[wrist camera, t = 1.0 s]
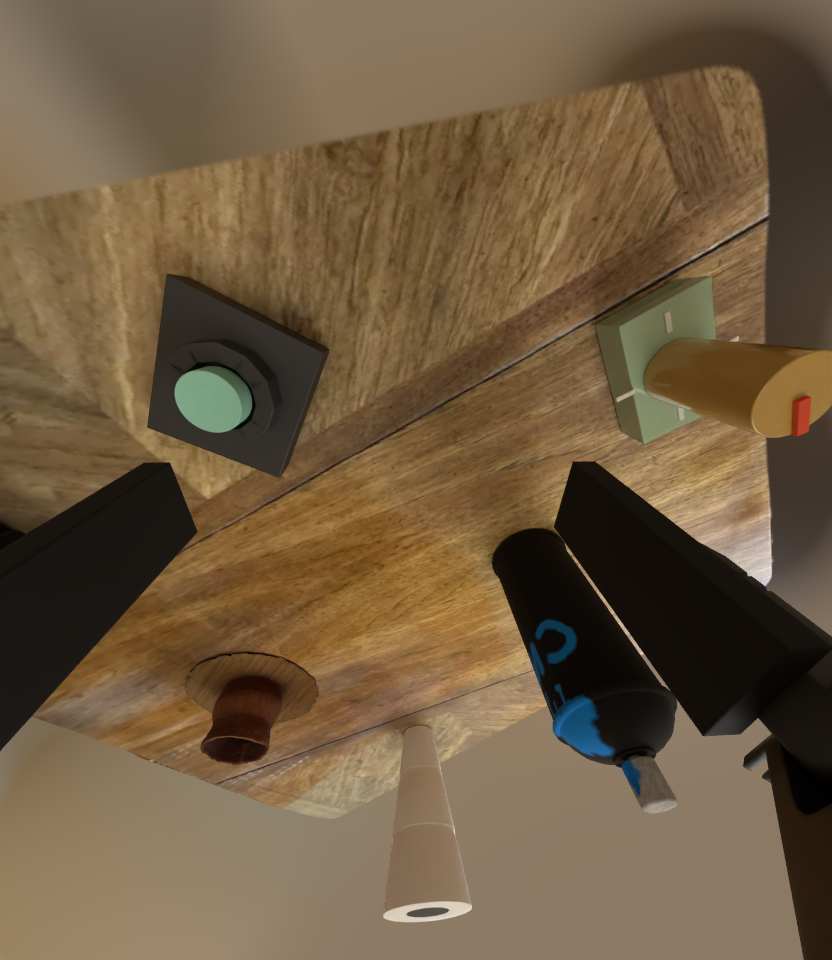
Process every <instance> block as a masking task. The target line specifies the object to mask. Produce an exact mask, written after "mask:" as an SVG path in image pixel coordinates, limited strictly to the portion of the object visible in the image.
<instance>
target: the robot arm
mask: <svg viewBox="0 0 832 960" xmlns="http://www.w3.org/2000/svg"><path fill="white" fill-rule="evenodd" d="M554 528H555V529H556V531H557V532H558V533H559V535H560V536H561V538H562V539H563V540H564V542H565V543H566V545H567V546H568V547H569V549H570V550H571V552H572V553H573V554H574V556H575V557H576V559H577V560H578V561H579V563H580V564H581V566H582V567H583V569H584V570H585V571H586V573H587V574H588V576H589V577H590V578H591V580H592V581H593V583H594V584H595V585H596V587H597V588H598V590H599V591H600V592H601V594H602V595H603V597H604V598H605V599H606V601H607V602H608V604H609V605H610V606H611V608H612V609H613V611H614V612H615V613H616V615H617V616H618V618H619V619H620V620H621V622H622V623H623V625H624V626H625V627H626V629H627V630H628V632H629V633H630V634H631V636H632V637H633V639H634V640H635V641H636V643H637V644H638V646H639V647H640V648H641V650H642V651H643V653H644V654H645V655H646V657H647V658H648V660H649V661H650V662H651V664H652V665H653V667H654V668H655V670H656V671H657V672H658V674H659V675H660V676H661V678H662V679H663V681H664V682H665V684H666V685H667V686H668V688H669V689H670V691H671V692H672V693H673V695H674V696H675V698H676V699H677V700H678V702H679V703H680V705H681V706H682V707H683V709H684V710H685V712H686V713H687V714H688V716H689V717H690V719H691V720H692V721H693V723H694V724H695V726H696V727H697V728H698V730H699V731H700V733H701V734H702V735H703V736H716V735H735V734H741V733H742V732H743V731H744V730H745V729H746V728H747V727H749V726H750V725H751V724H752V723H753V722H754V721H755V720H756V719H757V718H759V719H760V720H761V721H762V723H763V724H764V725H765V726H766V727H767V728H768V729H769V730H770V732H771V733H772V734H771V735H770V736H769V737H767V738H766V739H765V740H764V741H763V742H762V743H760V744H759V745H758V746H757V747H755V748H754V749H753V750H752V751H751V752H750V753H748V754H747V755H746V756H745V758H744V764H743V767H745V768H746V769H748V770H750V771H751V770H753V769H754V768H755V767H757V766H758V765H759V764H760V763H762V762H763V761H764V760H767V763H768V768H769V770H767V771H766V772H765V773H764V774H763V776H762V778H763V779H765V780H767V781H769V782H770V783H771V784H772V790H773V795H774V801H775V806H776V812H777V817H778V822H779V828H780V833H781V839H782V844H783V850H784V855H785V860H786V866H787V871H788V877H789V882H790V887H791V892H792V898H793V904H794V909H795V914H796V920H797V925H798V931H799V936H800V941H801V946H802V952H803V958H804V960H832V637H831V636H830V635H829V634H827V633H826V632H825V631H823V630H822V629H821V628H819V627H818V626H817V625H815V624H814V623H813V622H811V621H810V620H809V619H807V618H806V617H805V616H803V615H802V614H801V613H800V612H798V611H797V610H796V609H794V608H793V607H792V606H790V605H789V604H788V603H786V602H785V601H784V600H782V599H781V598H780V597H778V596H777V595H776V594H774V593H773V592H772V591H767V590H766V587H765V586H764V585H763V584H761V583H760V582H759V581H757V580H756V579H755V578H753V577H752V576H748V575H747V572H745V571H744V570H743V569H741V568H740V567H739V566H737V565H736V564H735V563H734V562H732V561H731V560H730V559H728V558H727V557H726V556H724V555H722V554H720V553H718V552H716V551H714V550H713V549H711V548H709V547H707V546H705V545H703V544H701V543H699V542H698V541H696V540H695V539H694V538H693V537H691V536H690V535H689V534H687V533H686V532H685V531H684V530H682V529H681V528H680V527H678V526H677V525H676V524H675V523H673V522H672V521H671V520H669V519H668V518H667V517H666V516H664V515H663V514H662V513H660V512H659V511H658V510H657V509H655V508H654V507H653V506H651V505H650V504H649V503H648V502H646V501H645V500H644V499H642V498H641V497H640V496H639V495H637V494H636V493H635V492H633V491H632V490H631V489H630V488H628V487H627V486H626V485H624V484H623V483H622V482H621V481H619V480H618V479H617V478H615V477H614V476H613V475H612V474H610V473H609V472H608V471H606V470H605V469H604V468H603V467H601V466H600V465H599V464H597V463H596V462H573V463H572V467H571V470H570V473H569V477H568V480H567V484H566V487H565V490H564V494H563V497H562V501H561V504H560V508H559V511H558V514H557V518H556V521H555V525H554ZM196 533H197V529H196V527H195V524H194V522H193V519H192V517H191V514H190V512H189V509H188V507H187V504H186V502H185V499H184V497H183V494H182V492H181V489H180V487H179V484H178V482H177V479H176V477H175V474H174V472H173V469H172V467H171V464H170V463H143V464H141V465H140V466H138V467H136V468H135V469H133V470H131V471H130V472H128V473H127V474H125V475H123V476H122V477H120V478H118V479H117V480H115V481H113V482H112V483H110V484H108V485H107V486H105V487H103V488H102V489H100V490H98V491H97V492H95V493H94V494H92V495H90V496H89V497H87V498H85V499H84V500H82V501H80V502H79V503H77V504H75V505H74V506H72V507H70V508H69V509H67V510H65V511H64V512H62V513H60V514H59V515H57V516H56V517H54V518H52V519H51V520H49V521H47V522H46V523H44V524H42V525H41V526H39V527H37V528H36V529H34V530H32V531H31V532H29V533H27V534H26V535H24V536H23V537H21V538H19V539H18V540H16V541H14V542H13V543H11V544H9V545H8V546H6V547H4V548H3V549H1V550H0V751H1V750H2V748H3V747H4V746H5V745H6V744H7V743H8V742H9V741H10V740H11V738H12V737H13V736H14V735H15V734H16V733H17V732H18V731H19V730H20V728H21V727H22V726H23V725H24V724H25V723H26V722H27V721H28V720H29V718H30V717H31V716H32V715H33V714H34V713H35V712H36V711H37V710H38V708H39V707H40V706H41V705H42V704H43V703H44V702H45V701H46V700H47V698H48V697H49V696H50V695H51V694H52V693H53V692H54V691H55V690H56V688H57V687H58V686H59V685H60V684H61V683H62V682H63V681H64V680H65V678H66V677H67V676H68V675H69V674H70V673H71V672H72V671H73V670H74V669H75V667H76V666H77V665H78V664H79V663H80V662H81V661H82V660H83V659H84V657H85V656H86V655H87V654H88V653H89V652H90V651H91V650H92V649H93V647H94V646H95V645H96V644H97V643H98V642H99V641H100V640H101V639H102V637H103V636H104V635H105V634H106V633H107V632H108V631H109V630H110V629H111V627H112V626H113V625H114V624H115V623H116V622H117V621H118V620H119V619H120V617H121V616H122V615H123V614H124V613H125V612H126V611H127V610H128V609H129V607H130V606H131V605H132V604H133V603H134V602H135V601H136V600H137V599H138V597H139V596H140V595H141V594H142V593H143V592H144V591H145V590H146V589H147V587H148V586H149V585H150V584H151V583H152V582H153V581H154V580H155V579H156V577H157V576H158V575H159V574H160V573H161V572H162V571H163V570H164V569H165V567H166V566H167V565H168V564H169V563H170V562H171V561H172V560H173V559H174V557H175V556H176V555H177V554H178V553H179V552H180V551H181V550H182V549H183V547H184V546H185V545H186V544H187V543H188V542H189V541H190V540H191V539H192V537H193V536H194V535H195V534H196Z"/></svg>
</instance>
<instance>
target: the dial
mask: <svg viewBox="0 0 832 960" xmlns="http://www.w3.org/2000/svg"><path fill="white" fill-rule="evenodd" d="M644 385H645V389H646V391H647V393H648V394H649V395H650V396H651V397H652V398H654V399H656V400H659V401H662V402H665V403H667V404H670V405H673V406H676V407H679V408H682V409H685V410H688V411H691V412H694V413H696V414H699V415H702V416H705V417H708V418H711V419H714V420H717V421H720V422H723V423H726V424H728V425H731V426H734V427H737V428H740V429H743V430H746V431H749V432H752V433H755V434H757V435H760V436H763V437H770V438H775V437H783V436H787V435H791V434H792V435H795V436H799V435H801V434H804V433H806V432H808V431H809V425H810V424H812V423H813V422H814V421H816V420H817V419H818V418H819V417H821V416H822V415H823V414H824V413H825V412H826V411H827V410H828V409H829V408H830V407H831V406H832V351H830V350H820V349H810V348H799V347H788V346H776V345H767V344H756V343H745V342H734V341H723V340H712V339H702V338H691V337H686V338H680V339H677V340H674V341H672V342H670V343H669V344H667V345H665V346H664V347H663V348H662V349H660V350H659V351H658V352H657V353H656V354H655V356H654V357H653V358H652V360H651V361H650V363H649V365H648V367H647V369H646V372H645V377H644Z"/></svg>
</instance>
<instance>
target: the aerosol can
mask: <svg viewBox="0 0 832 960" xmlns="http://www.w3.org/2000/svg"><path fill="white" fill-rule="evenodd" d="M492 565H493V570H494V572H495V574H496V575H497V576H498V578H499V579H500V582H501V584H502V587H503V589H504V592H505V595H506V597H507V600H508V603H509V605H510V608H511V610H512V613H513V616H514V618H515V621H516V624H517V626H518V629H519V632H520V634H521V637H522V639H523V642H524V645H525V647H526V650H527V653H528V655H529V658H530V660H531V663H532V666H533V668H534V671H535V674H536V676H537V679H538V681H539V684H540V687H541V689H542V692H543V695H544V697H545V700H546V702H547V705H548V708H549V710H550V713H551V715H552V718H553V732H554V734H555V735H556V737H557V738H558V739H559V740H560V741H561V742H563V743H564V744H566V745H568V746H570V747H571V748H572V749H573V750H575V751H576V752H578V753H579V754H581V755H582V756H584V757H585V758H587V759H589V760H592V761H595V762H599V763H603V764H607V765H616V766H617V767H620V768H622V770H623V772H624V774H625V776H626V777H627V780H628V782H629V784H630V786H631V788H632V790H633V792H634V794H635V796H636V798H637V800H638V802H639V804H640V806H641V808H642V810H643V811H645V812H646V813H660V812H664V811H668V810H670V809H672V808H674V807H676V806H677V804H678V801H677V799H676V797H675V795H674V794H673V792H672V790H671V788H670V787H669V785H668V783H667V782H666V780H665V778H664V776H663V774H662V773H661V771H660V770H659V767H658V766H657V764H656V762H655V760H654V758H655V757H656V753H658V752H659V751H660V750H661V749H662V748H664V746H665V745H666V743H667V742H668V741H669V739H670V738H671V736H672V733H673V729H674V722H675V715H674V714H675V712H676V709H677V700H676V698H675V696H674V695H673V693H672V692H671V691H670V690H668V689H667V688H666V687H664V686H662V685H661V684H660V682H659V681H658V679H657V678H656V676H655V675H654V674H653V672H652V671H651V670H650V668H649V667H648V665H647V664H646V662H645V661H644V660H643V658H642V657H641V655H640V654H639V652H638V651H637V649H636V648H635V647H634V645H633V644H632V642H631V641H630V640H629V638H628V637H627V635H626V634H625V632H624V631H623V630H622V628H621V627H620V625H619V624H618V623H617V621H616V620H615V618H614V617H613V615H612V614H611V613H610V611H609V610H608V608H607V607H606V606H605V604H604V603H603V601H602V600H601V598H600V597H599V596H598V594H597V593H596V591H595V590H594V589H593V587H592V586H591V584H590V583H589V581H588V580H587V579H586V577H585V576H584V574H583V573H582V571H581V570H580V569H579V567H578V566H577V564H576V563H575V562H574V560H573V559H572V557H571V556H570V554H569V553H568V552H567V550H566V547H565V543H564V542H563V540H562V539H561V538H560V537H559V536H558V535H557V534H555V533H553V532H551V531H548V530H543V529H530V530H525V531H522V532H519V533H516V534H514V535H512V536H511V537H509V538H508V539H506V540H505V541H504V542H503V543H502V544H501V545H500V546H499V547H498V548H497V550H496V552H495V554H494V557H493V563H492Z"/></svg>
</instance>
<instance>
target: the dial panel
mask: <svg viewBox="0 0 832 960" xmlns="http://www.w3.org/2000/svg"><path fill="white" fill-rule="evenodd" d="M595 328H596V332H597V336H598V340H599V344H600V348H601V352H602V356H603V360H604V364H605V368H606V372H607V376H608V380H609V384H610V388H611V392H612V396H613V400H614V404H615V408H616V412H617V416H618V420H619V424H620V428H621V432H623V433H624V434H626V435H628V436H630V437H632V438H634V439H636V440H637V441H639V442H641V443H643V444H645V443H647V442H650V441H652V440H654V439H656V438H658V437H660V436H662V435H664V434H666V433H669V432H671V431H673V430H675V429H677V428H679V427H681V426H683V425H685V424H688V423H690V422H692V421H694V420H696V419H698V418H700V417H702V415H699V414H696V413H694V412H691V411H688V410H685V409H682V408H679V407H676V406H673V405H670V404H667V403H665V402H662V401H659V400H656V399H654V398H652V397H651V396H650V395H649V394H648V393H647V391H646V389H645V385H644V377H645V372H646V369H647V367H648V365H649V363H650V361H651V360H652V358H653V357H654V356H655V354H656V353H657V352H658V351H659V350H660V349H662V348H663V347H664V346H665V345H667V344H669V343H670V342H672V341H674V340H677V339H680V338H686V337H691V338H702V339H712V340H716V333H715V319H714V305H713V291H712V277H711V276H704V277H695V278H686V279H677V280H674V281H672V282H670V283H668V284H667V285H665V286H663V287H661V288H659V289H658V290H656V291H654V292H652V293H651V294H649V295H647V296H645V297H644V298H642V299H640V300H638V301H636V302H635V303H633V304H631V305H629V306H628V307H626V308H624V309H622V310H621V311H619V312H617V313H615V314H613V315H612V316H610V317H608V318H606V319H605V320H603V321H601V322H599V323H598V324H596V325H595ZM728 341H734V342H737V341H739V336H735V337H733V338H731V339H729V340H728Z"/></svg>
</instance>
